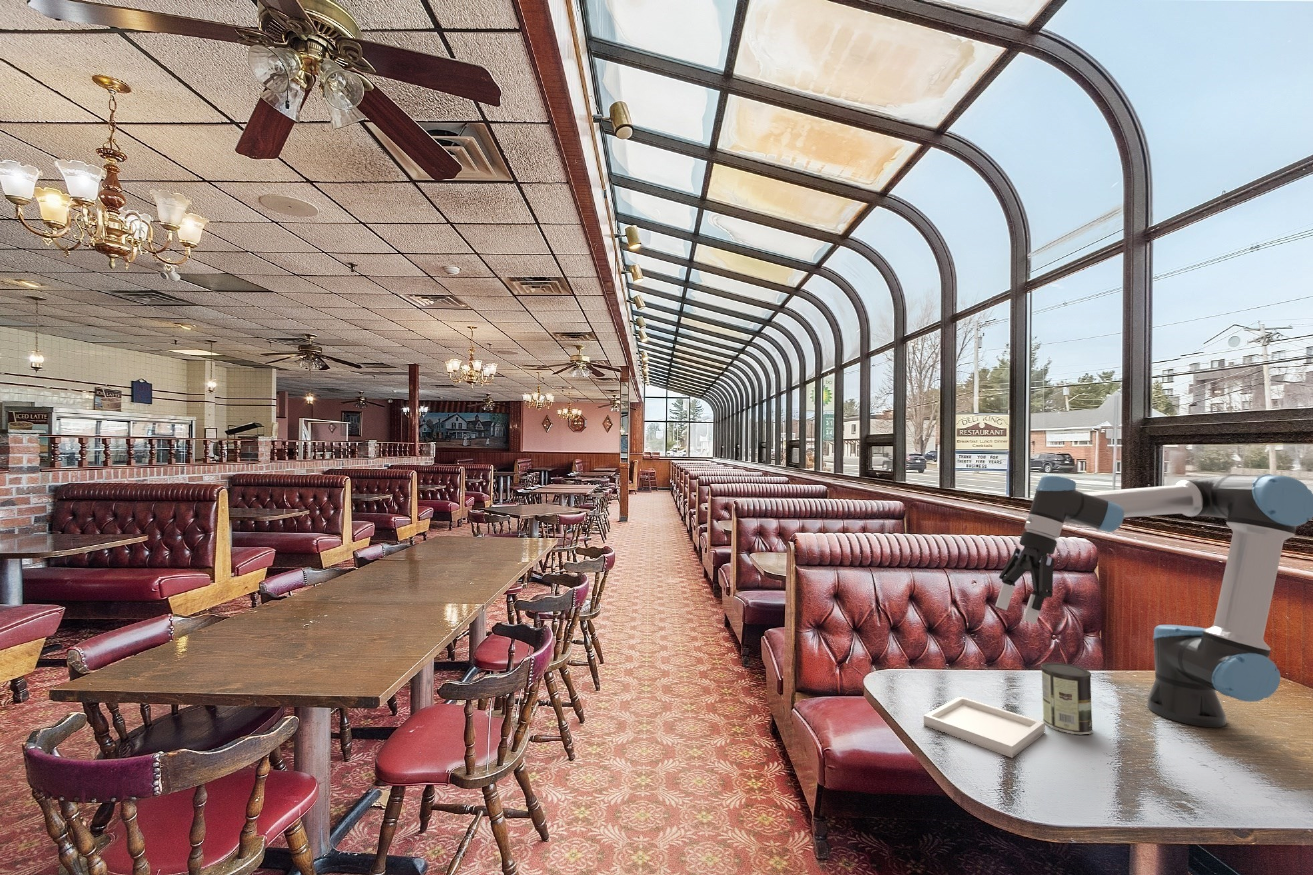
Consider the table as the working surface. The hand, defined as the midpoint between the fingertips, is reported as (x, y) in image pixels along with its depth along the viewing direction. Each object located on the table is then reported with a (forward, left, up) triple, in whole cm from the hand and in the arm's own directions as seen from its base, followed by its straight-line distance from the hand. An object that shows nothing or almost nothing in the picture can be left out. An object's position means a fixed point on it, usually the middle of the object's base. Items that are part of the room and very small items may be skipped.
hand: (1014, 614), depth 144 cm
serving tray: (+5, +8, -28) cm, 29 cm away
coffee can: (-7, -11, -28) cm, 31 cm away
